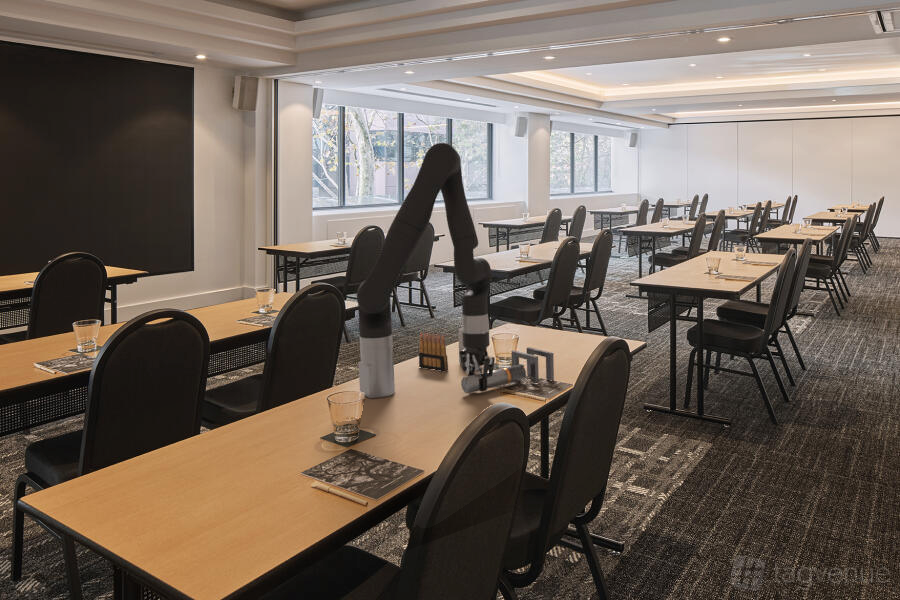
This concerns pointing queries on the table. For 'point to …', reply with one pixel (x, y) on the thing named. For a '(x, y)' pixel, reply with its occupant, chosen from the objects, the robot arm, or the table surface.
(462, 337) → the skincare box
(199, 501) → the table surface
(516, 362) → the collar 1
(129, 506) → the table surface
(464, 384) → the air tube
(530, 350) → the dark grey rectangular frame
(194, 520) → the table surface
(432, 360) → the ammunition clip
